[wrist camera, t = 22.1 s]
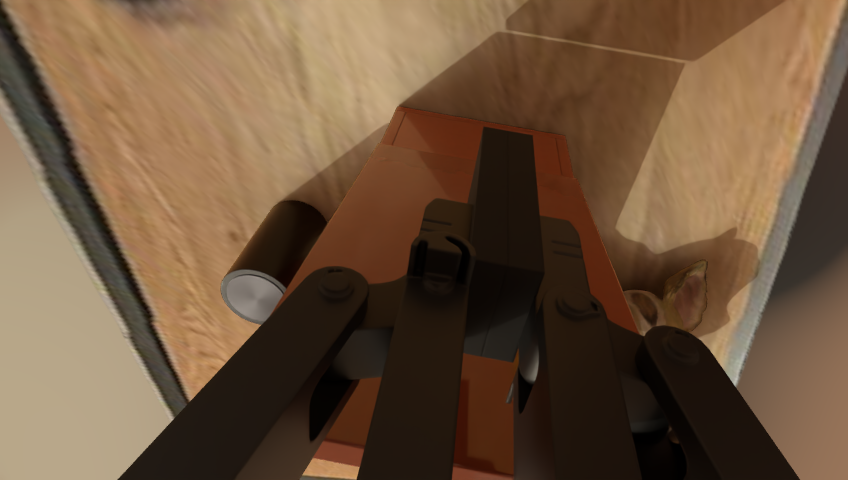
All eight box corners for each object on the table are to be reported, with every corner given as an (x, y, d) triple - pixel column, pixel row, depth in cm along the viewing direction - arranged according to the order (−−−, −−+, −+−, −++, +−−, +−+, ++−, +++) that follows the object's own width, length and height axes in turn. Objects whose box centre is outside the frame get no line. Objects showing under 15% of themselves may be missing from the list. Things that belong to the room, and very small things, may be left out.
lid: (702, 536, 13) (715, 517, 12) (206, 438, 13) (204, 416, 13) (574, 190, 32) (577, 178, 32) (376, 154, 33) (377, 142, 32)
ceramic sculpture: (571, 442, 45) (583, 307, 37) (562, 368, 52) (569, 242, 44) (703, 448, 43) (745, 308, 35) (674, 371, 50) (703, 240, 43)
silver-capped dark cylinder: (269, 246, 48) (224, 318, 40) (266, 194, 45) (215, 263, 37) (348, 260, 48) (317, 336, 40) (351, 210, 45) (318, 282, 37)
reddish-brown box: (501, 336, 51) (500, 392, 45) (376, 312, 51) (360, 365, 46) (565, 135, 38) (575, 180, 33) (397, 105, 38) (378, 145, 33)
